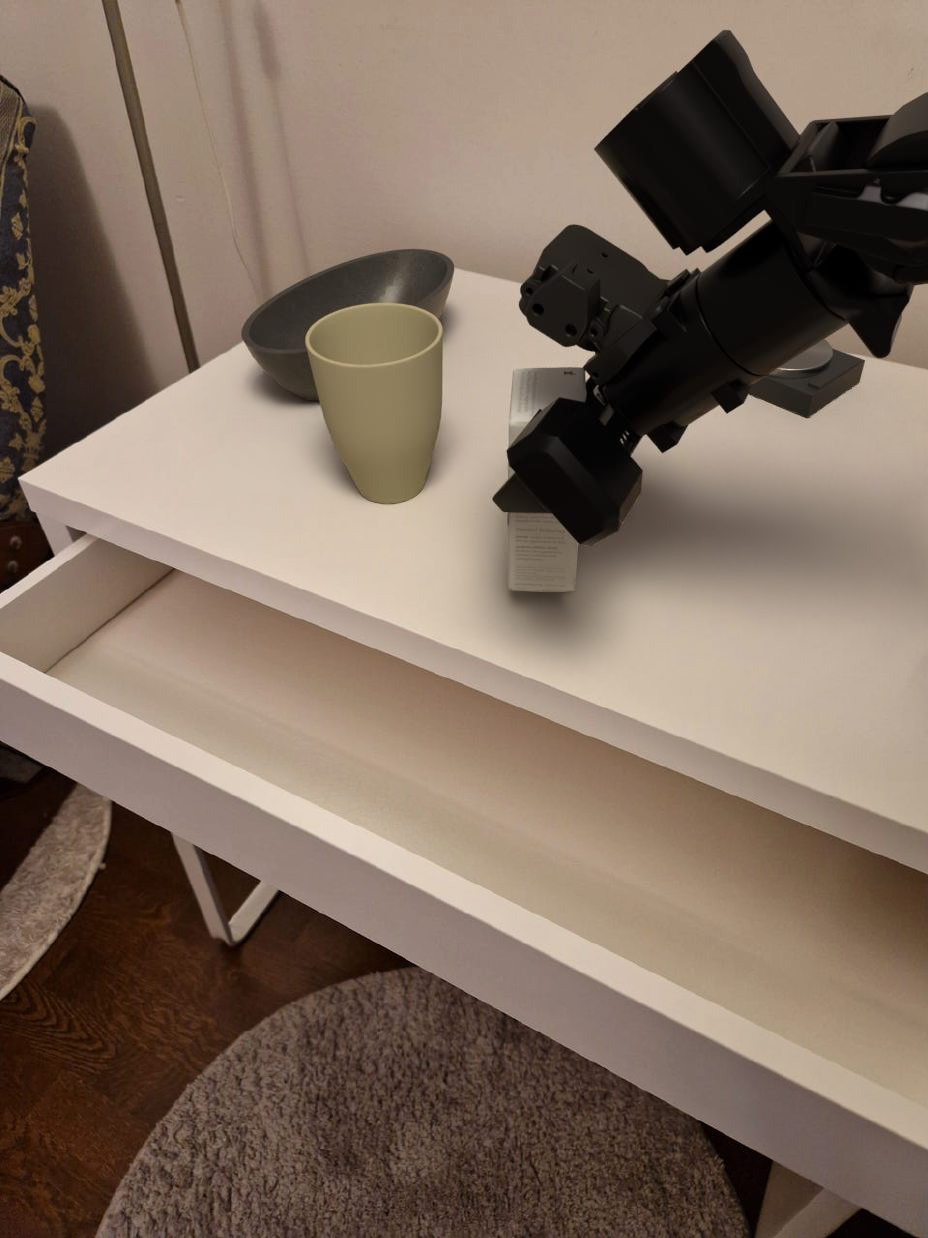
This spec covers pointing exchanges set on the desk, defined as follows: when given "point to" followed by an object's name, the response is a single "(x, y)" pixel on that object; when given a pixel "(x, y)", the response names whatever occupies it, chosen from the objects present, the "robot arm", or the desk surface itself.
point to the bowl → (340, 307)
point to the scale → (810, 379)
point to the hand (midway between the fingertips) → (523, 470)
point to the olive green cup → (380, 393)
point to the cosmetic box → (539, 539)
